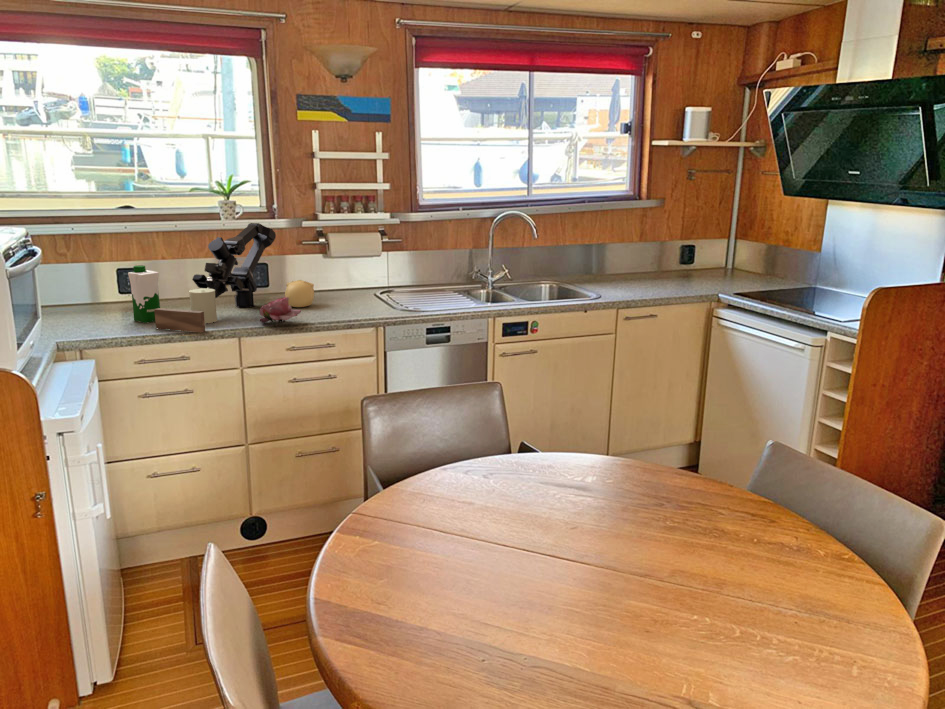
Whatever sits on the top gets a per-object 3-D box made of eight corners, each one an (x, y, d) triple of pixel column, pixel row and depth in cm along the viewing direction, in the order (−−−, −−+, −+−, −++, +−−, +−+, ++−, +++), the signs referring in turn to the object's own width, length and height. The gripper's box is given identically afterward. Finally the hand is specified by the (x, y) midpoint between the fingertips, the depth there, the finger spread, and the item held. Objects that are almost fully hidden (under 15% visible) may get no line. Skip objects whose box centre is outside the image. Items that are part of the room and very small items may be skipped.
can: (193, 324, 278) (191, 292, 275) (189, 319, 286) (186, 288, 283) (219, 322, 283) (217, 290, 279) (214, 317, 290) (212, 286, 287)
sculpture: (316, 303, 319) (315, 277, 316) (311, 309, 308) (310, 282, 305) (288, 303, 319) (287, 277, 316) (282, 309, 307) (281, 282, 304)
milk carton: (150, 316, 290) (145, 264, 285) (166, 319, 286) (161, 266, 280) (130, 320, 283) (124, 267, 278) (145, 324, 278) (140, 269, 273)
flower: (306, 312, 288) (296, 288, 284) (298, 326, 274) (287, 301, 271) (269, 322, 290) (259, 298, 286) (259, 336, 276) (248, 311, 272)
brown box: (160, 327, 274) (159, 308, 272) (205, 330, 270) (204, 311, 268) (156, 328, 271) (154, 309, 270) (201, 332, 267) (199, 312, 265)
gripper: (193, 253, 290) (177, 286, 282) (237, 255, 285) (223, 289, 278) (206, 270, 299) (192, 303, 292) (249, 273, 295) (236, 306, 287)
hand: (210, 300), depth 287 cm, fingers closed, pressing on can
